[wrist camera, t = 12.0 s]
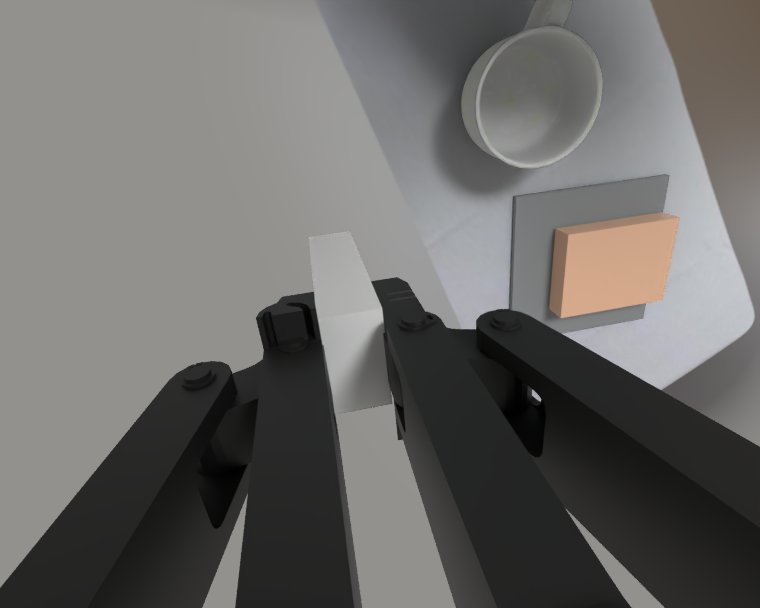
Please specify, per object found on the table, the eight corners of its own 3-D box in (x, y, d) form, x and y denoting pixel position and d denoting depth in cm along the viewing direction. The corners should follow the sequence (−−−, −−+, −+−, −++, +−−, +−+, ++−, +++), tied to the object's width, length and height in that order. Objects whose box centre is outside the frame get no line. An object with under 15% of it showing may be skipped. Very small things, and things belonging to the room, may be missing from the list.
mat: (513, 196, 48) (516, 197, 47) (665, 174, 50) (669, 175, 49) (508, 340, 55) (510, 342, 55) (639, 316, 58) (643, 318, 57)
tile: (568, 234, 47) (679, 217, 48) (554, 227, 49) (659, 211, 51) (560, 318, 51) (662, 300, 53) (547, 307, 54) (645, 290, 55)
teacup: (524, 171, 47) (565, 185, 40) (431, 138, 44) (458, 146, 36) (587, 25, 42) (647, 11, 35) (488, -24, 39) (531, -51, 32)
